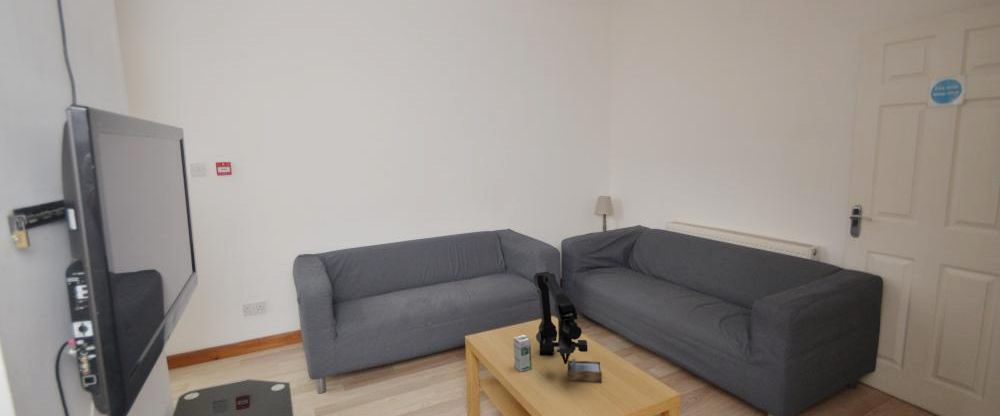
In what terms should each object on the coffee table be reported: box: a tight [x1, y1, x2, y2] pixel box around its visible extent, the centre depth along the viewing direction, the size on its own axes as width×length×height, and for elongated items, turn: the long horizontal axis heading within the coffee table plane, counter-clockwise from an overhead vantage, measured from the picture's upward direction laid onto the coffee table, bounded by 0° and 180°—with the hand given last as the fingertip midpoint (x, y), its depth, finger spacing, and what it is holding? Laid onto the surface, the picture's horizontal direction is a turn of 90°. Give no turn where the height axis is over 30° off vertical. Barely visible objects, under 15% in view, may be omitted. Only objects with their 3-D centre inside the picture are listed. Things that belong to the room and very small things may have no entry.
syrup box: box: [512, 334, 533, 373], centre depth 201 cm, size 6×6×14 cm
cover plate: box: [571, 358, 599, 371], centre depth 193 cm, size 12×7×3 cm, turn 82°
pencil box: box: [567, 359, 602, 383], centre depth 193 cm, size 14×9×5 cm, turn 82°
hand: (565, 363), depth 194 cm, fingers closed
